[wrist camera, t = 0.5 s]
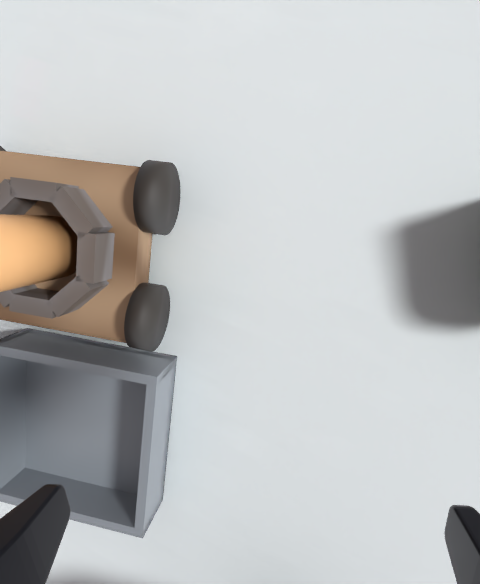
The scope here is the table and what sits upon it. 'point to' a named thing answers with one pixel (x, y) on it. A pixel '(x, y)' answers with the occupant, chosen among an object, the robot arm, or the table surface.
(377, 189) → the table surface
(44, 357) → the tray
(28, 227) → the pin
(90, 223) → the trolley
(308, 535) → the table surface
